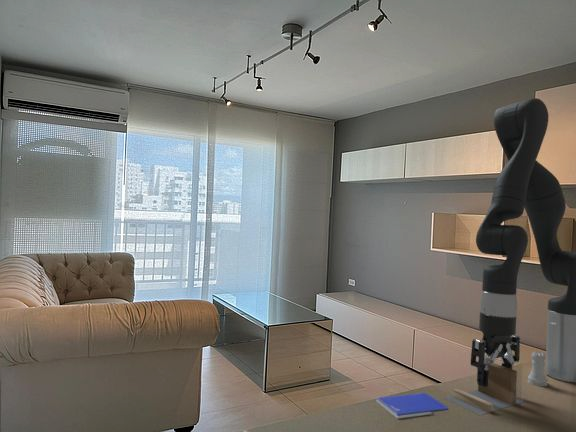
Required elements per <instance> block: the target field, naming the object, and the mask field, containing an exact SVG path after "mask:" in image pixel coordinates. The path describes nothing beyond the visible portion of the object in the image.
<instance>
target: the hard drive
mask: <svg viewBox="0 0 576 432" xmlns="http://www.w3.org/2000/svg"><path fill="white" fill-rule="evenodd" d="M382 397H383V396H382ZM382 397H376V399H375V400H376V403H377V404H378V405H380V406H381V407H382V408H383V409H384V410H386V411H387V412H388V413H390V414H391V416H393V417H395V418H396V419H397V420H398V419H404V418H413V417H420V416H427V415H434V414H435V412H438V411H446V410H449V407H448V406H447V405H445V404H443V403H442V402H441V401H439V400H437V399H436V398H434V397H433V396H431V395H430V394H428V393H426V392H420V393H412V394H403V395H402V394H401V395H393V396H384V397H383V398H382ZM378 398H379V399H378Z"/></svg>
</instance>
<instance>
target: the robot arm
mask: <svg viewBox="0 0 576 432" xmlns="http://www.w3.org/2000/svg"><path fill="white" fill-rule="evenodd" d="M548 124H549V111H548V107H547V105H546V104H545V102H544V101H543V100H542V99H541V98H536V97H533V98H527V99H524V100H520V101H517V102H515V103H514V102H513V103H510V104H507V105H504V106H500V107H499V108H497V109H496V110H495V112H494V114H493V127H494V131H495V134H496V136H497V139H498V141H499V143H500V144H499V145H501V148H502V150H503V152H504V154H505V157H506V158H507V163H506V164H505V165H504V166H503V168H502V169H501V171H499V172H500V173H499V174H498V176H497V178H496V180H495V182H494V183H495V184H494V185H493V186H494V187H493V191H492V198H491V201H490V205H489V209H488V210H487V212H486V215H485V217H484V219H483V220H482V223H481V224H480V226H479V228H478V230H477V232H476V235H475V244H476V247H477V249H478V251H480V252H481V253H482V254H484V255H493V256H502V257H504V256H505V257H506V258H505V260H504V262H503V263H501V264H494V265H487V266H485V267H484V268H483V272H482V288H481V296H480V302H479V303H480V307H479V324H478V329H479V330H480V332H481V333H482V338H481V339H477V338H473V339H472V342H471V353H470V354H471V355H470V366H471V367H475V368H476V369H477V373H476V382H477V386H478V385H480V386H482V387H488V375H489V371H488V369H489V367H490V365H491V363H495V361H496V359H500V360H501V362H502V363H501V366H504V367H507V368H510V369H513V366H514V365H515V363H519V361H520V358H521V357H520V355H521V354H520V352H521V351H520V350H521V348H520V344H521V343H520V341H521V338H520V336H519V335H516V332H517V309H518V302H517V284H518V283H517V282H518V274H519V272H520V266H521V262H522V261H523V258H524V255H525V252H526V250H527V247H528V243H529V235H528V233H527V230H526V229H525V228H523V226H521V225H515V224H503V223H504V222H506V221H509V220H515V219H519V218H520V217H521V216H523V214H524V210H525V213H526V215H527V218H528V221H529V224H530V228H531V230H532V233H533V238H534V241H535V246H536V252H537V255H538V260H539V265H540V268H541V272H542V274H543V277H544V278H545V280H546V281H548V282H549V283H551V284H554V285H560V286H564V287H565V286H566V287H567V289H566V292H565V294H563V295H561V296H557V297H552V298H549V299H548V303H547V317H546V318H547V324H546V325H547V326H546V350H545V351H546V353H545V357H546V359H545V370H544V373H545V375H548V377H550V378H553V379H556V380H558V381H559V380H560V381H563V382H568V383H576V251H571V250H570V251H568V250H562V248H561V246H560V243H559V239H558V230H559V227H560V224H561V222H562V221H563V220H562V219H563V218H564V216H565V212H566V207H567V205H566V200H565V196H564V193H563V189H562V187H561V184H560V181H559V179H558V178H557V177H556V176H555V174H553V173H552V172H551V171H550V170H549V169H548V168H546V167H544V165H543V164H541V163H540V162H539V161H538V160H537V159H538V155H539V153H540V150H541V149H542V148H541V147H542V144H543V141H544V139H545V136H546V132H547V129H548V126H549V125H548ZM513 352H514V353H513ZM477 358H478V359H477ZM484 360H486V362H485V364H484Z"/></svg>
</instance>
